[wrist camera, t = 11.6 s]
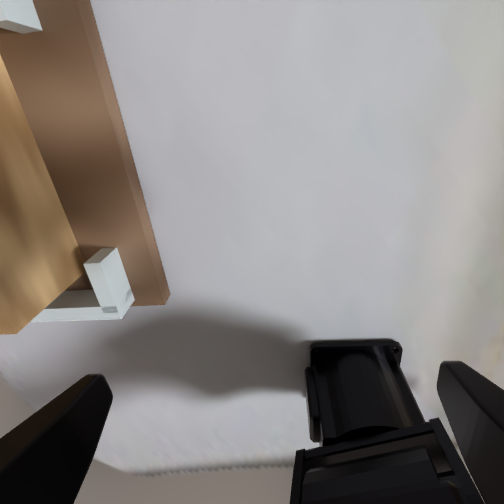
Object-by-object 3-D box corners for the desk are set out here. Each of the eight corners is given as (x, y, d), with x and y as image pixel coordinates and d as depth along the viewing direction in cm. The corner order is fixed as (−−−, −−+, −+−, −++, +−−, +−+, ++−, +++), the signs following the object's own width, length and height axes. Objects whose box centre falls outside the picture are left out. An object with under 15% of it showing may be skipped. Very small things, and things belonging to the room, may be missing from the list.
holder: (-179, -53, 14) (-298, -93, 11) (61, -103, 12) (-4, -164, 9) (19, 301, 23) (-19, 330, 20) (170, 294, 21) (153, 324, 18)
